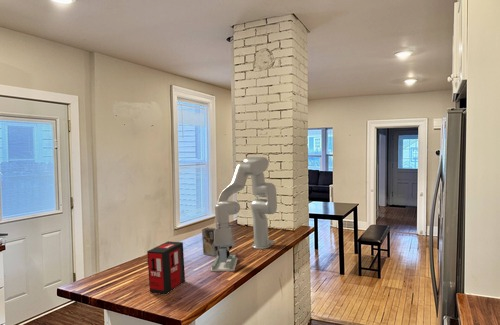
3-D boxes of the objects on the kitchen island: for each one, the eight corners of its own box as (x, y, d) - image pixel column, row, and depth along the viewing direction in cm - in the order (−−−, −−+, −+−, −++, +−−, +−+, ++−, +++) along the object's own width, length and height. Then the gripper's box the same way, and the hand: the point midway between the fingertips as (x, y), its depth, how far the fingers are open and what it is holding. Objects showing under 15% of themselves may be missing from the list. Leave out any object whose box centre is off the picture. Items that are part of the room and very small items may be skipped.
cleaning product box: (165, 295, 158) (163, 252, 156) (149, 292, 161) (147, 251, 160) (185, 281, 173) (182, 242, 172) (170, 279, 176) (167, 241, 175)
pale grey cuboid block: (228, 256, 198) (227, 244, 197) (226, 262, 188) (225, 249, 188) (222, 256, 198) (221, 244, 198) (219, 262, 188) (219, 250, 188)
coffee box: (220, 253, 216) (219, 228, 215) (215, 256, 210) (213, 230, 209) (208, 251, 220) (207, 227, 219) (202, 254, 214) (201, 229, 213)
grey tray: (237, 259, 202) (237, 254, 202) (234, 270, 184) (234, 265, 184) (215, 260, 203) (215, 255, 202) (210, 271, 185) (210, 266, 184)
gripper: (237, 223, 195) (239, 255, 196) (209, 224, 196) (210, 255, 197) (236, 226, 188) (238, 259, 189) (206, 227, 189) (208, 260, 190)
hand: (224, 257), depth 193 cm, fingers closed on pale grey cuboid block, 3 cm apart
